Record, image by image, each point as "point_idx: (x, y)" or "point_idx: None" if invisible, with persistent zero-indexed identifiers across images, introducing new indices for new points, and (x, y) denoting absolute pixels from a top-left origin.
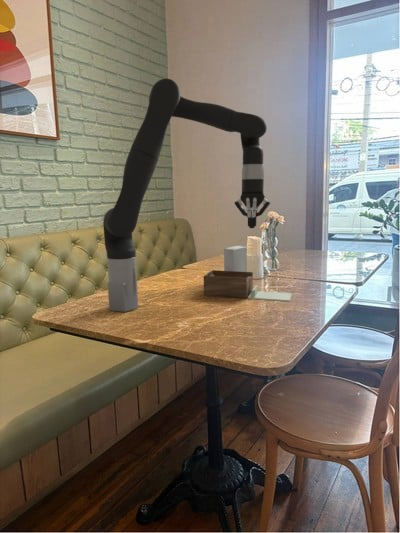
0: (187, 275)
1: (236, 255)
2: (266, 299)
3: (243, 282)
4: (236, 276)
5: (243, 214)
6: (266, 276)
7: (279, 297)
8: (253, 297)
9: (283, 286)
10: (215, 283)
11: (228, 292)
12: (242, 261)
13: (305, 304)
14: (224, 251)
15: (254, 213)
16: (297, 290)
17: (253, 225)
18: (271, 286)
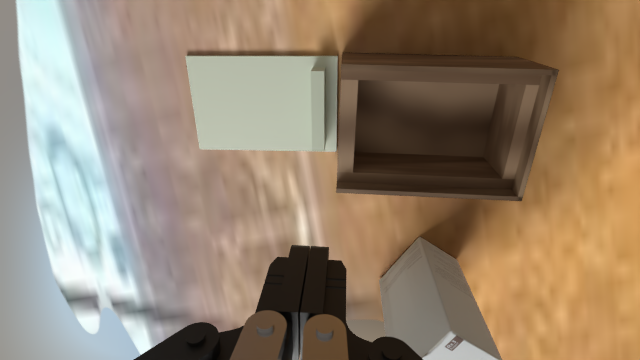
0: (605, 321)
1: (430, 320)
2: (268, 56)
3: (355, 61)
4: (403, 173)
5: (400, 348)
6: None
7: (227, 83)
8: (317, 60)
9: (249, 237)
10: (484, 63)
11: (417, 56)
12: (401, 318)
13: (127, 28)
14: (494, 346)
15: (252, 350)
16: (196, 198)
17: (288, 258)
18: (286, 231)
